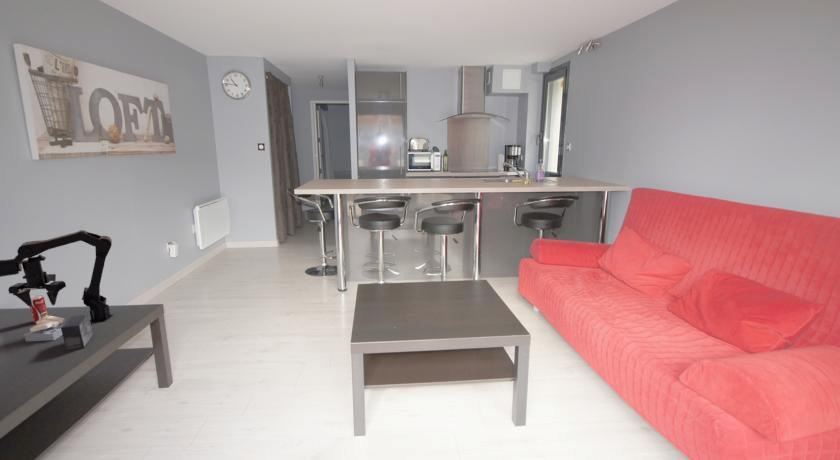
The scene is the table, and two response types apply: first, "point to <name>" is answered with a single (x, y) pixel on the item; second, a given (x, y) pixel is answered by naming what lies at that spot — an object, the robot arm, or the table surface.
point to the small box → (77, 332)
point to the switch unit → (45, 334)
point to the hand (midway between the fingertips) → (42, 305)
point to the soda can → (38, 308)
